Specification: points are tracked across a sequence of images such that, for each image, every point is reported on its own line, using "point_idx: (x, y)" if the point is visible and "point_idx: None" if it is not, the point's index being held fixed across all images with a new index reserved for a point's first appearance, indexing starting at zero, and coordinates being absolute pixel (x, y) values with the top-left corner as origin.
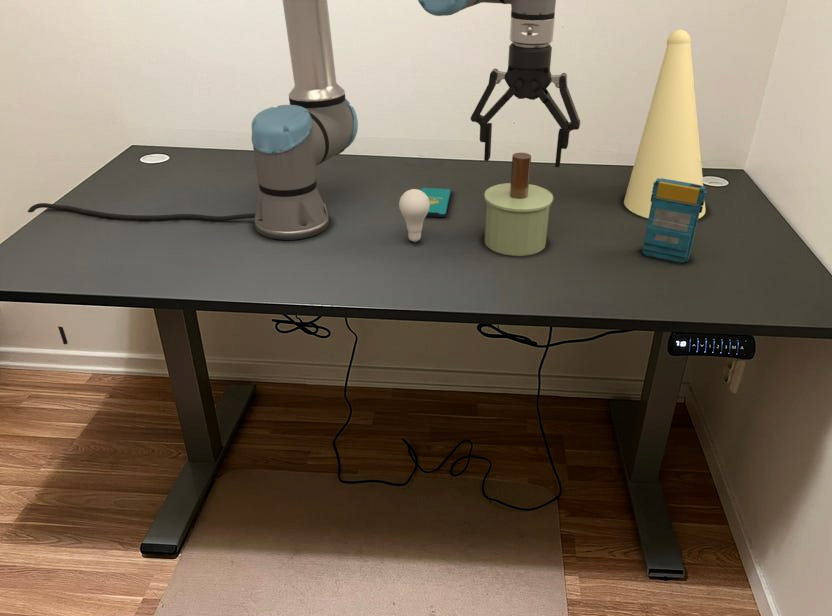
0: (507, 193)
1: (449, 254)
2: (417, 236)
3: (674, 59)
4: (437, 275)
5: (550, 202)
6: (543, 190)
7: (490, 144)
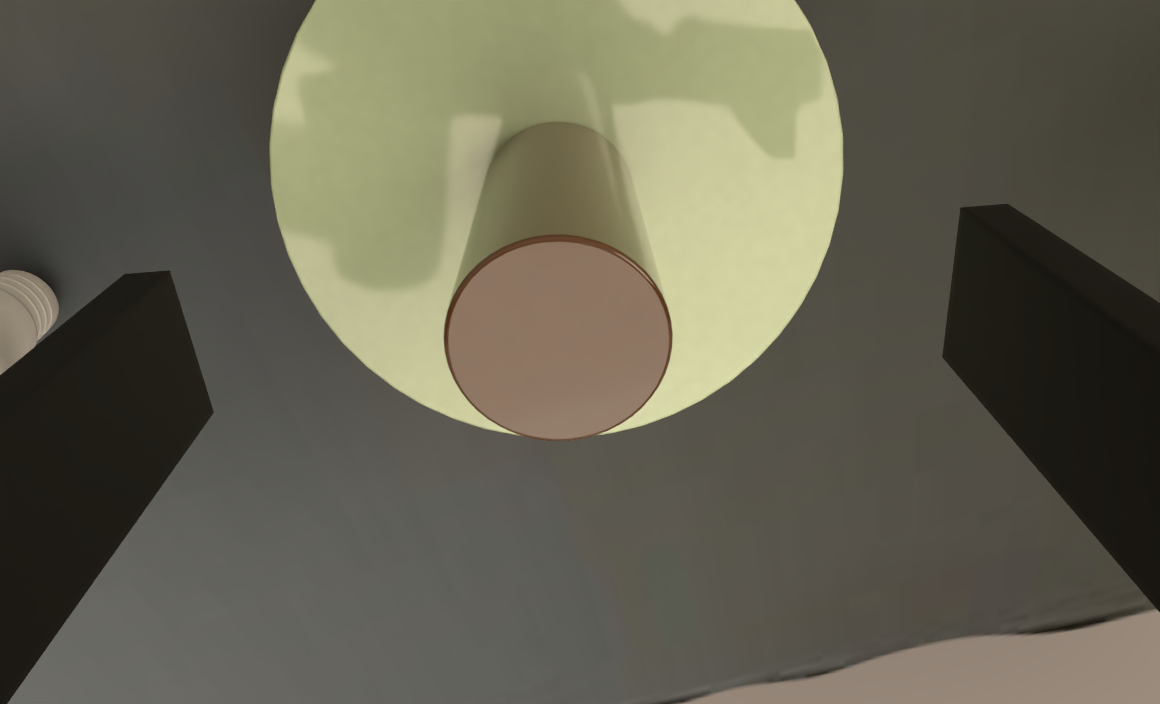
0: (460, 189)
1: (276, 366)
2: (42, 334)
3: None
4: (319, 552)
5: (826, 249)
6: (747, 5)
7: (106, 378)
